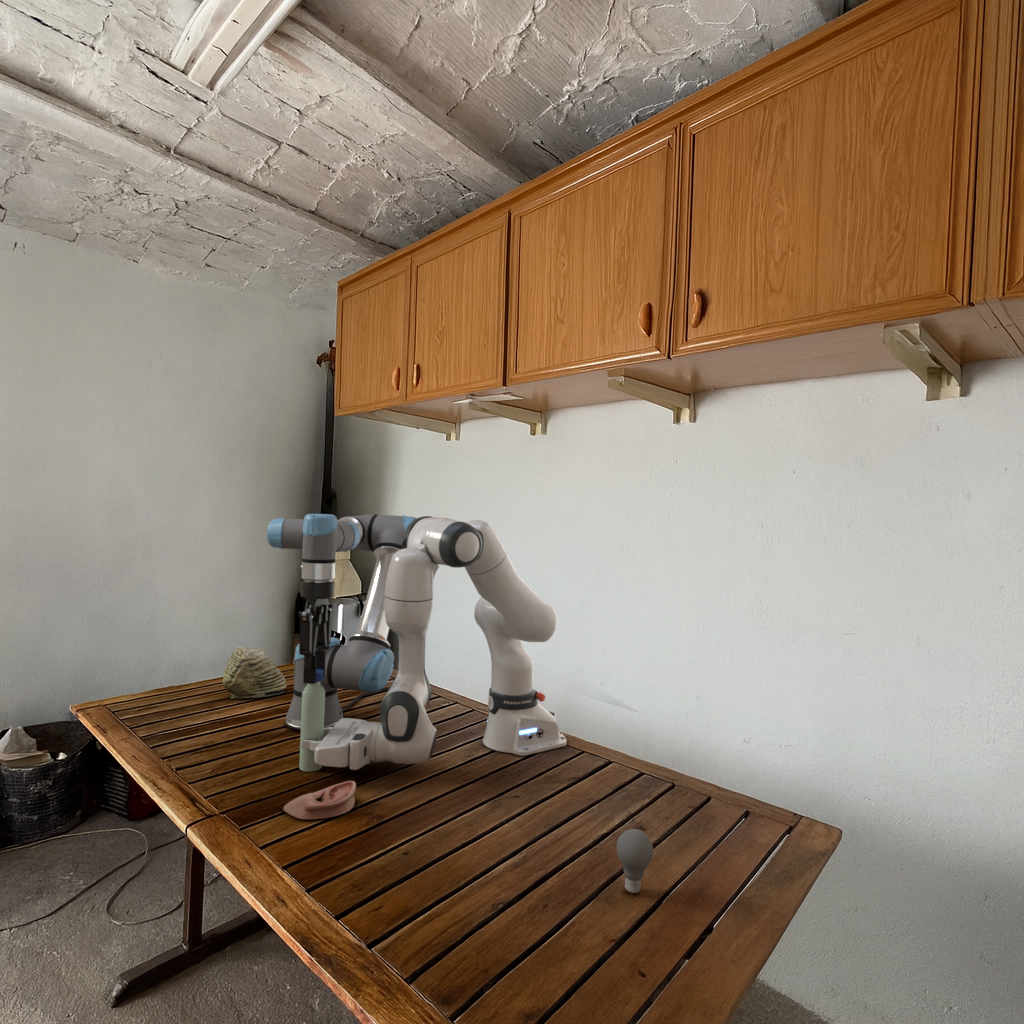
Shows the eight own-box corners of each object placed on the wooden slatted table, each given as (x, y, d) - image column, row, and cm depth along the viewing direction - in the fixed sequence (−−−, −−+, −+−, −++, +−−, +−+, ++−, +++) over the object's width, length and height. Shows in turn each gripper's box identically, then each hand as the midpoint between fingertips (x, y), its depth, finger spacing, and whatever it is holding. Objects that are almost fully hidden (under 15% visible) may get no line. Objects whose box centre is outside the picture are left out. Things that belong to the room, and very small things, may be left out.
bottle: (320, 761, 151) (323, 669, 151) (324, 769, 147) (327, 674, 146) (297, 764, 149) (301, 671, 149) (301, 773, 145) (304, 676, 144)
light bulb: (610, 879, 108) (613, 822, 108) (644, 879, 109) (647, 822, 109) (619, 902, 102) (622, 840, 102) (655, 901, 103) (658, 840, 103)
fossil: (218, 695, 195) (220, 647, 195) (278, 685, 208) (279, 640, 207) (228, 703, 189) (230, 653, 188) (289, 692, 201) (290, 645, 201)
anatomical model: (275, 795, 125) (305, 771, 136) (274, 815, 125) (304, 789, 136) (337, 804, 122) (363, 779, 133) (336, 825, 122) (362, 798, 133)
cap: (304, 677, 149) (304, 669, 149) (322, 676, 150) (323, 668, 150) (305, 682, 145) (305, 673, 145) (324, 681, 146) (324, 672, 146)
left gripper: (318, 575, 156) (315, 669, 157) (284, 583, 139) (280, 689, 140) (347, 577, 155) (344, 671, 156) (317, 585, 138) (312, 692, 139)
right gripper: (378, 713, 158) (323, 710, 158) (355, 744, 137) (292, 741, 138) (377, 738, 158) (322, 735, 158) (354, 773, 138) (291, 770, 138)
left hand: (314, 680), depth 148 cm, fingers closed on cap, 4 cm apart
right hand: (308, 738), depth 148 cm, fingers closed on bottle, 5 cm apart
